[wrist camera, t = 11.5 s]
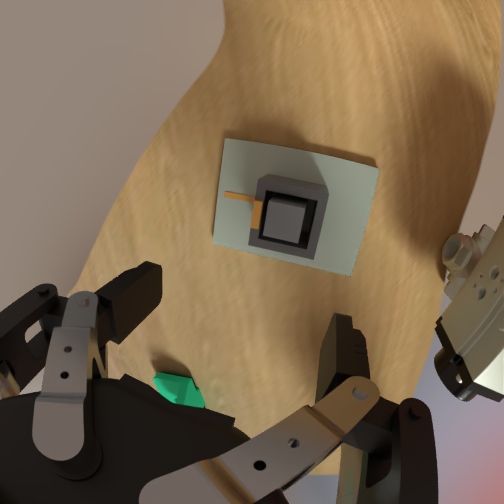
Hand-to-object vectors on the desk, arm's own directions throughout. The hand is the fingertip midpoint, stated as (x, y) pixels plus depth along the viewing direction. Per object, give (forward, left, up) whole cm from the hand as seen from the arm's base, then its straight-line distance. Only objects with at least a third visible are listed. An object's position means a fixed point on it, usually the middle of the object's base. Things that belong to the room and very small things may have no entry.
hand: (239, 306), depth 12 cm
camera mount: (+12, +37, -19) cm, 44 cm away
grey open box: (0, -1, -18) cm, 18 cm away
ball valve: (-22, 0, -19) cm, 29 cm away
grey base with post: (0, -1, -19) cm, 19 cm away
